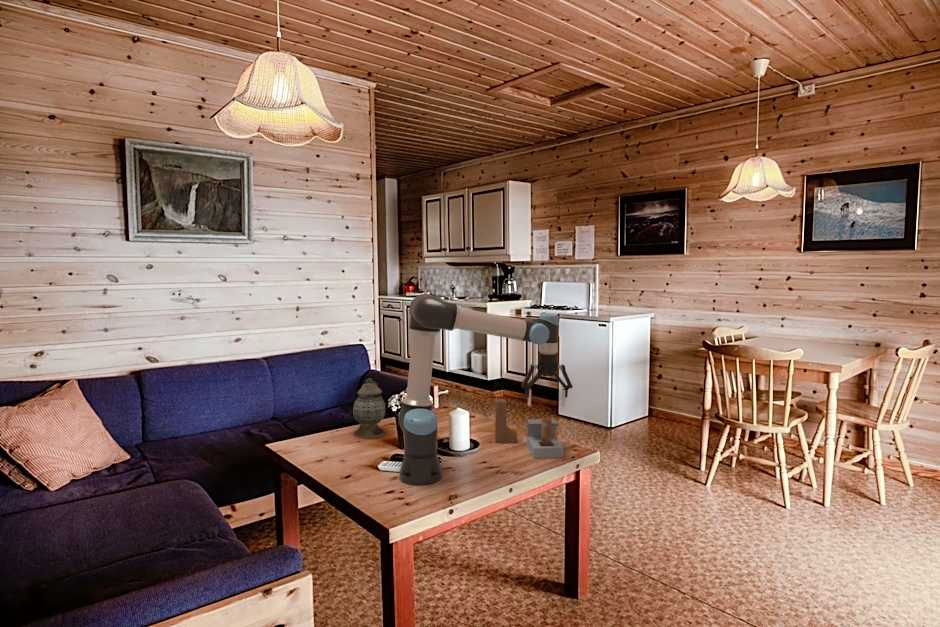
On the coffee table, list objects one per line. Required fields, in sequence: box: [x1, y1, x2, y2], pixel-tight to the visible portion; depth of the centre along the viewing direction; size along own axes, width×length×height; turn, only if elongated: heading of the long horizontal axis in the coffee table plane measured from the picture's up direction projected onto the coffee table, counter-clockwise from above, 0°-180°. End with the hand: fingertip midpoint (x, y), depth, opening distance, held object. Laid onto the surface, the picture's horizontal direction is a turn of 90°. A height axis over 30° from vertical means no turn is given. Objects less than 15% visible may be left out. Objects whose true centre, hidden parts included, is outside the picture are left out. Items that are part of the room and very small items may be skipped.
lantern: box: [352, 377, 386, 440], centre depth 253 cm, size 14×14×25 cm
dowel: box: [541, 417, 553, 446], centre depth 228 cm, size 4×4×14 cm
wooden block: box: [494, 398, 518, 444], centre depth 243 cm, size 9×4×18 cm, turn 89°
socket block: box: [525, 418, 565, 459], centre depth 231 cm, size 12×16×11 cm
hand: (546, 405), depth 227 cm, fingers open, 13 cm apart
